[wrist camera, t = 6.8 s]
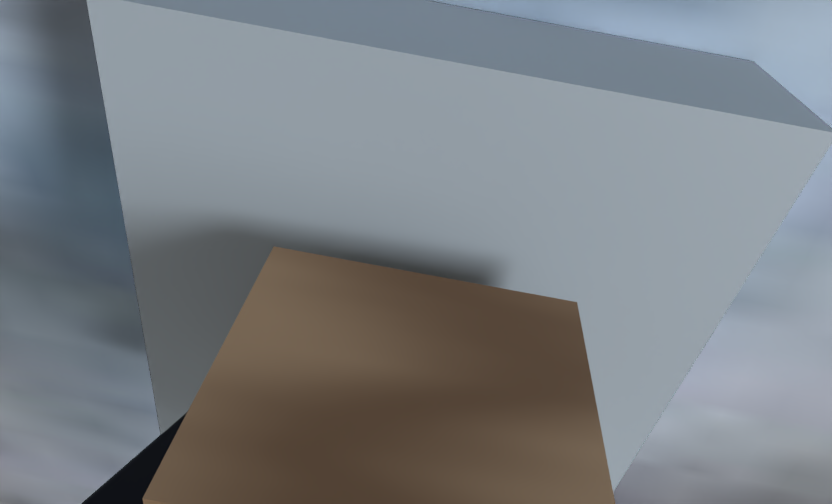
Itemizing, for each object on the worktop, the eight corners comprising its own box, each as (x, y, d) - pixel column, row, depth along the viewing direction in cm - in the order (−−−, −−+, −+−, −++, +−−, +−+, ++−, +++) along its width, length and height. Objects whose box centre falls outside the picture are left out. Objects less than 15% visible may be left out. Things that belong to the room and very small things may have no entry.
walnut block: (576, 301, 9) (631, 587, 5) (503, 477, 11) (509, 739, 8) (273, 246, 9) (142, 499, 5) (271, 435, 11) (183, 681, 8)
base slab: (753, 61, 10) (837, 134, 8) (574, 422, 16) (590, 528, 14) (182, -46, 10) (85, -6, 8) (212, 357, 16) (163, 452, 13)
